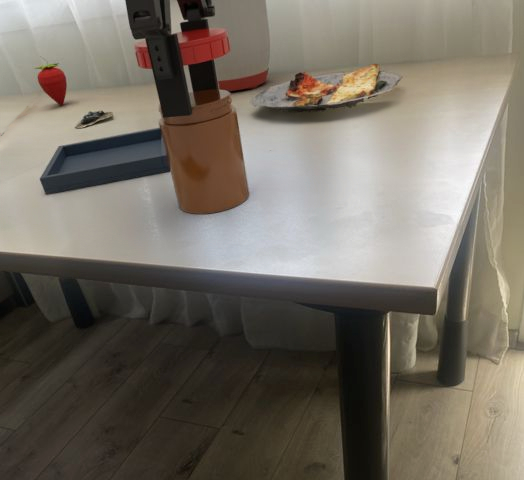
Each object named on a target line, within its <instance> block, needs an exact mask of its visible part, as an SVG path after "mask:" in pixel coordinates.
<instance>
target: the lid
mask: <svg viewBox="0 0 524 480" xmlns="http://www.w3.org/2000/svg"><path fill="white" fill-rule="evenodd" d="M172 34H177V36H178V41H179V46H180V51H181V56H182V61H183V66H186V65H191V64H196V63H201V62H205V61H209V60H213V59H216V58H219V57H222V56H224V55H226V54H228V53H229V51H230V45H229V39H228V36H227V30H226V29H223V28H210V29H199V30H191V31H184V32H178V33H172ZM133 47H134V50H135V53H134V54H135V58H136V61H137V66H138V67H139V68H140V69H145V70H152V66H151V62H150V58H149V53H148V49H147V45H146V40H145V39H142V40H141V41H138V42H135V43H134V45H133Z"/></svg>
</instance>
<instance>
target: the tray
mask: <svg viewBox="0 0 524 480" xmlns="http://www.w3.org/2000/svg"><path fill="white" fill-rule="evenodd" d="M167 172H170V167H169V163H168V159H167V155H166V151H165V147H164V143H163V139H162V134H161V130H160V127H154V128H150V129H145V130H139V131H133V132H129V133H123V134H117V135H111V136H107V137H101V138H95V139H90V140H86V141H79V142H74V143H68V144H64V145H63V144H62V145H59V146H58V147H57V149H56V150H55V152H54V153H53V154H52V157H51V158H50V160H49V161H48V164H47V165H46V166H45V169H44V171H43V172H42V174H41V176H40V177H39V181H40V185H41V186H42V189H43V192H44V194H45V195H50V194H57V193H61V192H66V191H71V190H76V189H82V188H88V187H94V186H97V185H98V186H99V185H103V184H109V183H115V182H119V181H120V182H121V181H124V180H129V179H130V180H131V179H135V178H141V177H146V176H151V175H156V174H162V173H167Z"/></svg>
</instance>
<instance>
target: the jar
mask: <svg viewBox="0 0 524 480" xmlns="http://www.w3.org/2000/svg"><path fill="white" fill-rule="evenodd" d="M189 97H190V102H191V107H192V114H191V115H188V116H177V117H166V118H163V115H162V110H161V106H160V103H158V112H159V113H160V117H161V118H160V119H159V120H158V126H159V128H160V130H161V134H162V139H163V143H164V147H165V151H166V155H167V159H168V163H169V167H170V171H169V172H170V175H171V180H172V183H173V188H174V192H175V196H176V200H177V204H178V207H179V209H180V210H181V211H182V212H185V213H188V214H192V215H193V214H194V215H206V214H214V213H215V214H216V213H219V212H224V211H227V210H231V209H233V208H235V207H237V206H240V205H242V204H243V203H245V201H246V200H248V198H249V196H250V190H249V184H248V183H249V182H248V177H247V171H246V165H245V163H246V162H245V157H244V152H243V146H242V138H241V132H240V126H239V118H238V113H237V108H236V106H234V105H232V102H233V99H232V93H231V92H230V91H226V90H203V91H196V92H190V93H189Z"/></svg>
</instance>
